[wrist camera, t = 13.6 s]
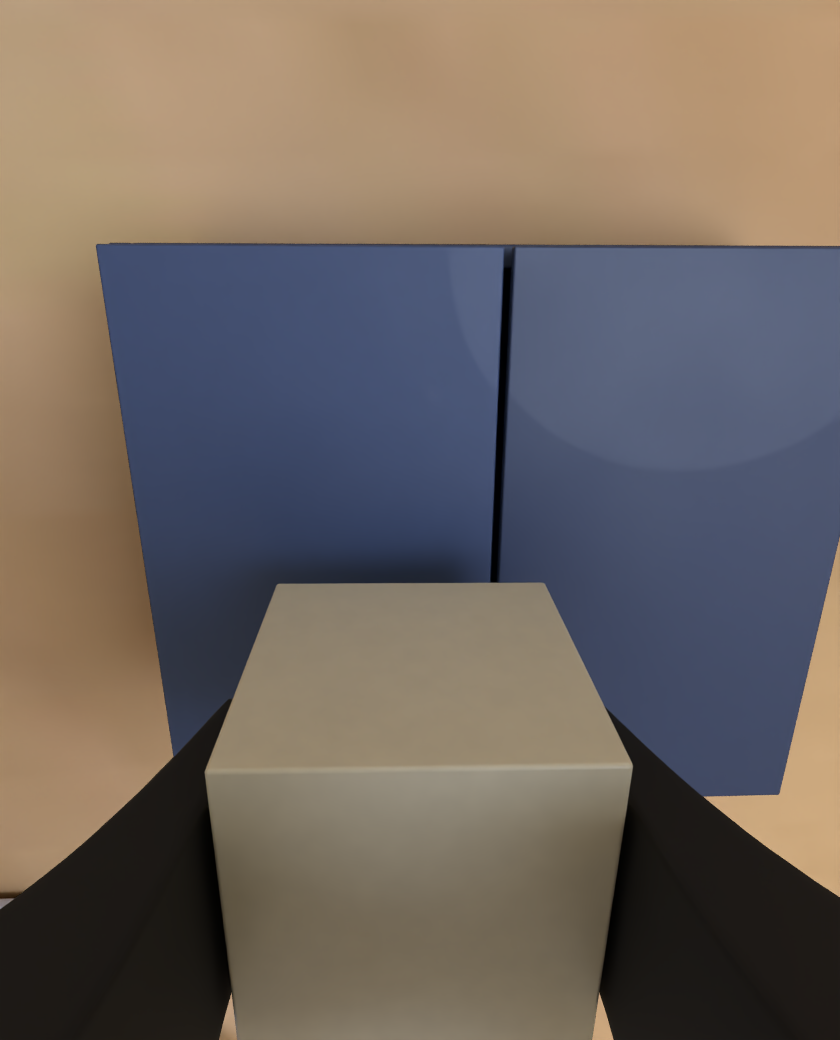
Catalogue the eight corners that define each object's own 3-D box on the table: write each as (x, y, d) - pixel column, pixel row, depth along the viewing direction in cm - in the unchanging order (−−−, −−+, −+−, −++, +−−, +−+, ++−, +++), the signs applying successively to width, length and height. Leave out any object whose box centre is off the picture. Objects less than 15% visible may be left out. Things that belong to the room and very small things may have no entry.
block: (527, 794, 13) (592, 1051, 9) (291, 798, 13) (238, 1061, 8) (544, 581, 11) (635, 765, 7) (276, 582, 11) (201, 771, 7)
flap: (479, 790, 15) (480, 800, 15) (184, 799, 15) (180, 809, 15) (502, 246, 11) (505, 246, 11) (101, 244, 11) (95, 243, 11)
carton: (683, 664, 21) (782, 796, 15) (234, 672, 20) (177, 811, 15) (749, 254, 17) (913, 244, 11) (189, 252, 16) (89, 240, 11)
